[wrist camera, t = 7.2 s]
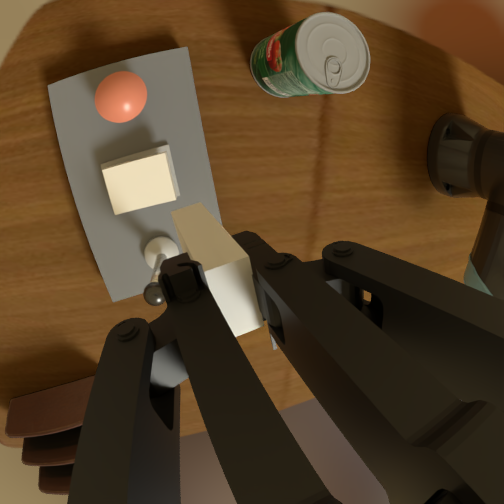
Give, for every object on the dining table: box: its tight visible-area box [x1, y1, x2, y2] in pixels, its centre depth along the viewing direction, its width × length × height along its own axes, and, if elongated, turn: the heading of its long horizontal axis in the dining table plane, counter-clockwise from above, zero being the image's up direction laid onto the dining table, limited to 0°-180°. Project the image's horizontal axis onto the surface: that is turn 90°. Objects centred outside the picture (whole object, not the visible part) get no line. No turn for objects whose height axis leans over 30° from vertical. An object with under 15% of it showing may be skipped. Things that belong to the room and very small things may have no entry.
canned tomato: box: [250, 12, 370, 97], centre depth 27 cm, size 8×8×11 cm
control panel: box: [48, 47, 222, 302], centre depth 30 cm, size 14×24×4 cm, turn 9°
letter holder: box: [5, 375, 95, 495], centre depth 33 cm, size 10×20×14 cm, turn 102°
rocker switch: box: [102, 151, 177, 215], centre depth 27 cm, size 6×4×2 cm
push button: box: [95, 71, 147, 123], centre depth 24 cm, size 4×4×5 cm
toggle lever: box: [143, 253, 168, 306], centre depth 28 cm, size 2×2×8 cm
